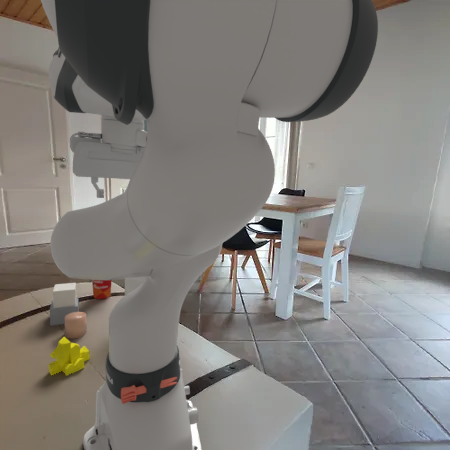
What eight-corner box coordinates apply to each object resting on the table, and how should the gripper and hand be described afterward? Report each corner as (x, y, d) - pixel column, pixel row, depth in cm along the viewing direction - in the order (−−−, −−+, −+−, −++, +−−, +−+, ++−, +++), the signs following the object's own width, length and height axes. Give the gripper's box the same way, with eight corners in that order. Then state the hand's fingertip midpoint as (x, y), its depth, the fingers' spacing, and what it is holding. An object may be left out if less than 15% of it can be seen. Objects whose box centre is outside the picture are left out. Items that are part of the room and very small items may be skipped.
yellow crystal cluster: (93, 363, 65) (93, 333, 64) (55, 381, 59) (54, 347, 58) (82, 352, 69) (82, 323, 67) (45, 368, 63) (44, 336, 61)
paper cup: (85, 298, 98) (84, 259, 95) (100, 290, 105) (100, 254, 103) (103, 302, 96) (103, 262, 93) (118, 294, 103) (118, 257, 101)
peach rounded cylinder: (86, 336, 75) (86, 319, 75) (64, 340, 73) (63, 322, 72) (86, 326, 80) (86, 310, 79) (65, 330, 78) (65, 313, 77)
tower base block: (78, 322, 82) (77, 306, 82) (50, 326, 79) (49, 309, 78) (78, 311, 89) (78, 296, 88) (52, 315, 85) (52, 299, 85)
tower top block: (75, 305, 82) (75, 289, 81) (53, 308, 80) (52, 291, 79) (76, 297, 87) (75, 282, 86) (55, 300, 84) (55, 284, 84)
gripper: (68, 130, 54) (71, 199, 58) (171, 141, 64) (168, 201, 67) (70, 130, 60) (72, 194, 63) (164, 141, 69) (161, 196, 73)
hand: (122, 198), depth 65 cm, fingers open, 8 cm apart
